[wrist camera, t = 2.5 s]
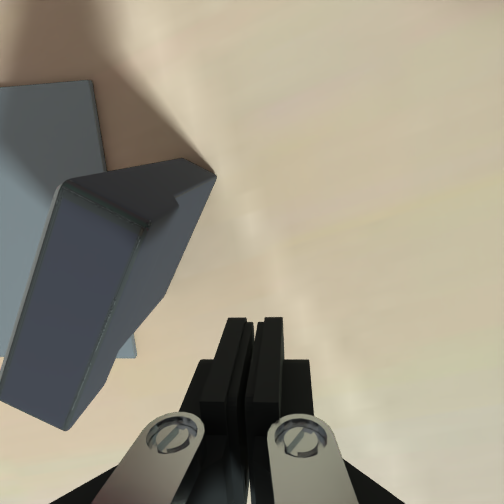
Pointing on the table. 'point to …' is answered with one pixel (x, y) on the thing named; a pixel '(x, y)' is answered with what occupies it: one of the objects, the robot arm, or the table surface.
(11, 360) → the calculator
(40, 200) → the mat
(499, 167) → the table surface
